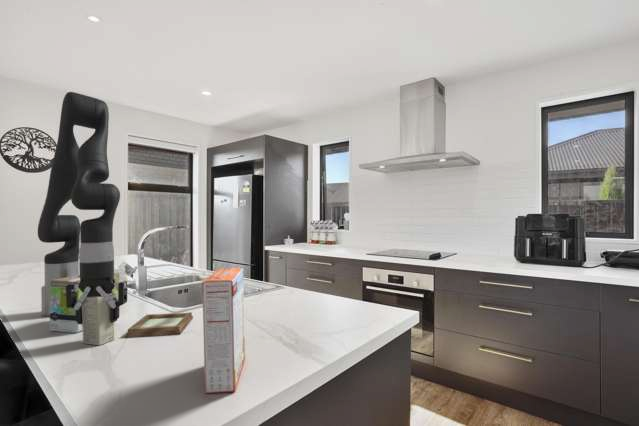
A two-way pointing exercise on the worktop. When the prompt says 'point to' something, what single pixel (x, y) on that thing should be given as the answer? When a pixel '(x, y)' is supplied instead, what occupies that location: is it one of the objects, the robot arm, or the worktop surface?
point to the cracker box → (223, 329)
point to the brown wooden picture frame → (160, 324)
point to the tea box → (59, 313)
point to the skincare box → (97, 321)
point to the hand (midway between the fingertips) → (97, 322)
